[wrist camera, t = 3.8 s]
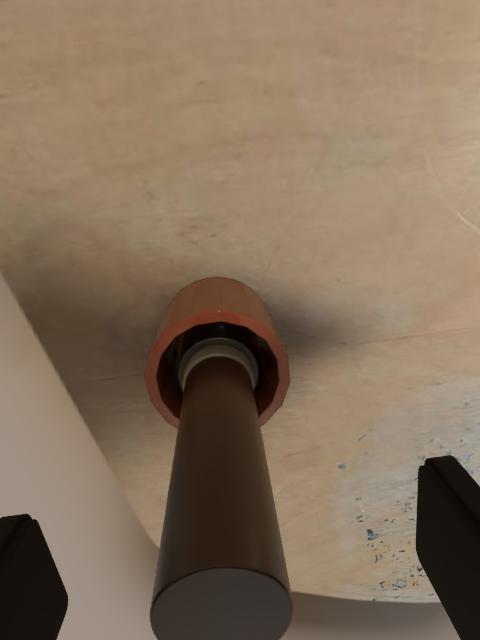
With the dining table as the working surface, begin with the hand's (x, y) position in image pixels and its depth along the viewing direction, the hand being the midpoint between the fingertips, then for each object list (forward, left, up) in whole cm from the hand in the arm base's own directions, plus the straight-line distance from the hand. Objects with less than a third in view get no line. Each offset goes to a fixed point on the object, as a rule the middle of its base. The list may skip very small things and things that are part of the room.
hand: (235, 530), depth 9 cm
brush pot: (0, 0, -14) cm, 14 cm away
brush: (0, 0, -13) cm, 13 cm away
